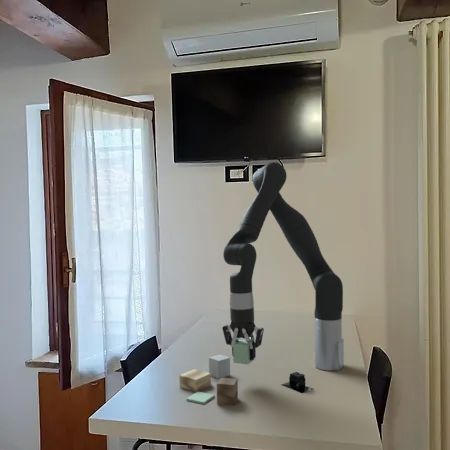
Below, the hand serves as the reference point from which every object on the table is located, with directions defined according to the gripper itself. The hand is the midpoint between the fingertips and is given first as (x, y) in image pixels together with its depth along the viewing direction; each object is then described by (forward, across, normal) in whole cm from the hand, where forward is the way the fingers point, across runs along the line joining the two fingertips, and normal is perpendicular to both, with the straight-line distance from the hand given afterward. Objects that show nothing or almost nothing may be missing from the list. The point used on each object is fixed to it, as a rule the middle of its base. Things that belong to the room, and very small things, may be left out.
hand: (243, 358), depth 156 cm
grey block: (+8, +11, -4) cm, 14 cm away
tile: (+8, +7, +16) cm, 19 cm away
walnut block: (+8, -1, +15) cm, 17 cm away
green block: (+1, 0, 0) cm, 1 cm away
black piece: (+9, -16, -4) cm, 19 cm away
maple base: (+8, +14, +8) cm, 18 cm away
